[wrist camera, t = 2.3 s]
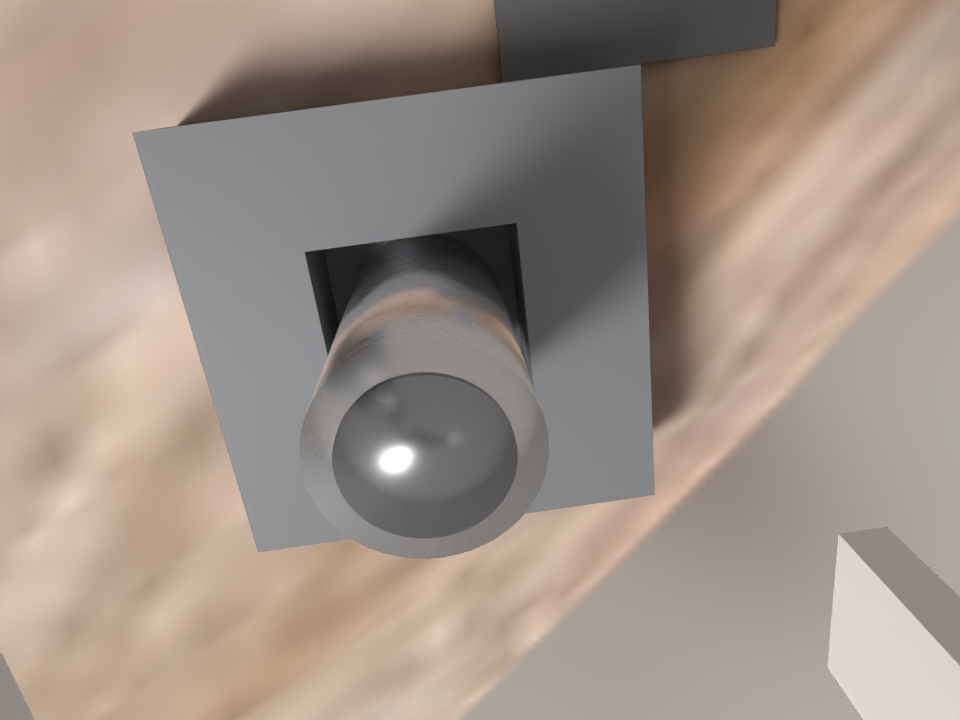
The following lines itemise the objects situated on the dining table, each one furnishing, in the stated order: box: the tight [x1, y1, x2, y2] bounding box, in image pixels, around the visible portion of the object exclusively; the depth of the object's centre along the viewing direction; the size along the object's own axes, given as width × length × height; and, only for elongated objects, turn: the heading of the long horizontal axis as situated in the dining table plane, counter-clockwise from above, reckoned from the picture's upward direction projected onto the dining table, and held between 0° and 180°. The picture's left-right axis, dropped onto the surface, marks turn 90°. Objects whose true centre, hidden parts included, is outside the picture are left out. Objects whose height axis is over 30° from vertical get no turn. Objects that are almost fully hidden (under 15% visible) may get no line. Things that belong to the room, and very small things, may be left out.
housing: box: [133, 65, 655, 552], centre depth 26 cm, size 16×16×4 cm
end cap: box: [299, 234, 549, 559], centre depth 22 cm, size 6×6×12 cm
